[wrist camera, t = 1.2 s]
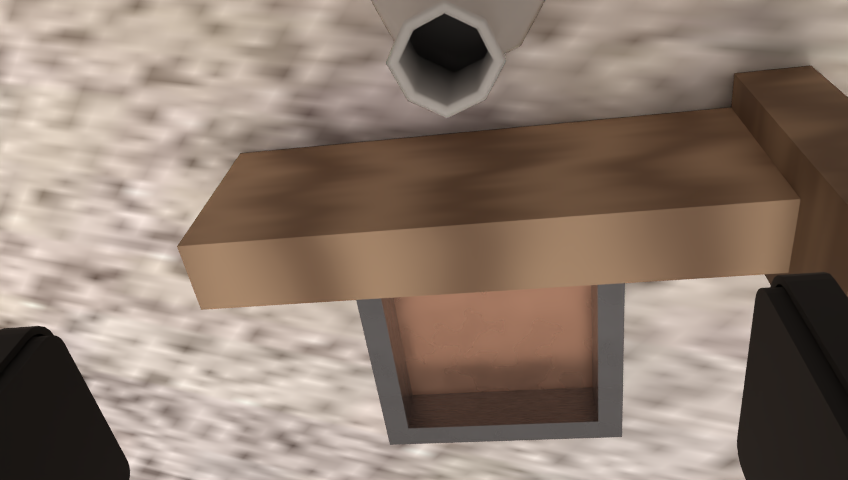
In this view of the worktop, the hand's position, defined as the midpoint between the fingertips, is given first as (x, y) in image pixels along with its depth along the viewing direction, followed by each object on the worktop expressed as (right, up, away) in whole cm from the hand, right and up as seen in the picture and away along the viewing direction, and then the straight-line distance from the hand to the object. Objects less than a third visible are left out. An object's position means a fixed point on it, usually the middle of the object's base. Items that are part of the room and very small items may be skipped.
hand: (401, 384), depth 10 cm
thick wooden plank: (+4, +6, +23) cm, 24 cm away
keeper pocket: (+4, -2, +27) cm, 28 cm away
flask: (+2, +12, +19) cm, 23 cm away
